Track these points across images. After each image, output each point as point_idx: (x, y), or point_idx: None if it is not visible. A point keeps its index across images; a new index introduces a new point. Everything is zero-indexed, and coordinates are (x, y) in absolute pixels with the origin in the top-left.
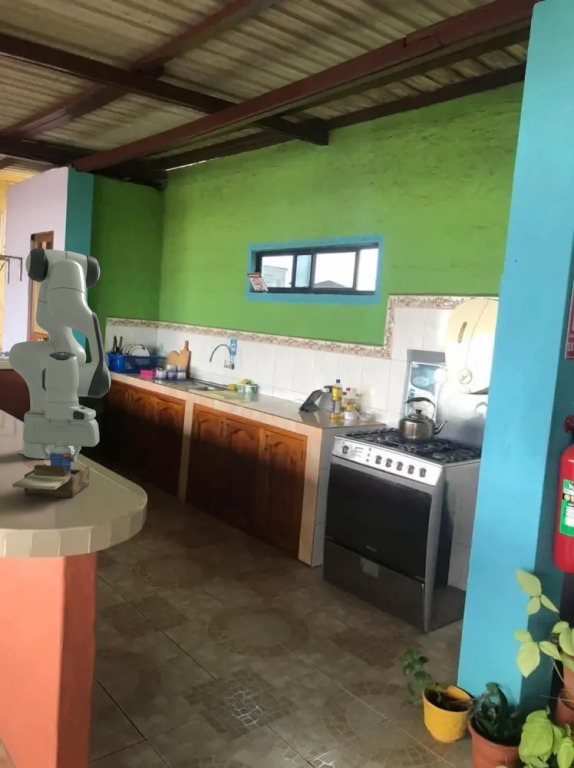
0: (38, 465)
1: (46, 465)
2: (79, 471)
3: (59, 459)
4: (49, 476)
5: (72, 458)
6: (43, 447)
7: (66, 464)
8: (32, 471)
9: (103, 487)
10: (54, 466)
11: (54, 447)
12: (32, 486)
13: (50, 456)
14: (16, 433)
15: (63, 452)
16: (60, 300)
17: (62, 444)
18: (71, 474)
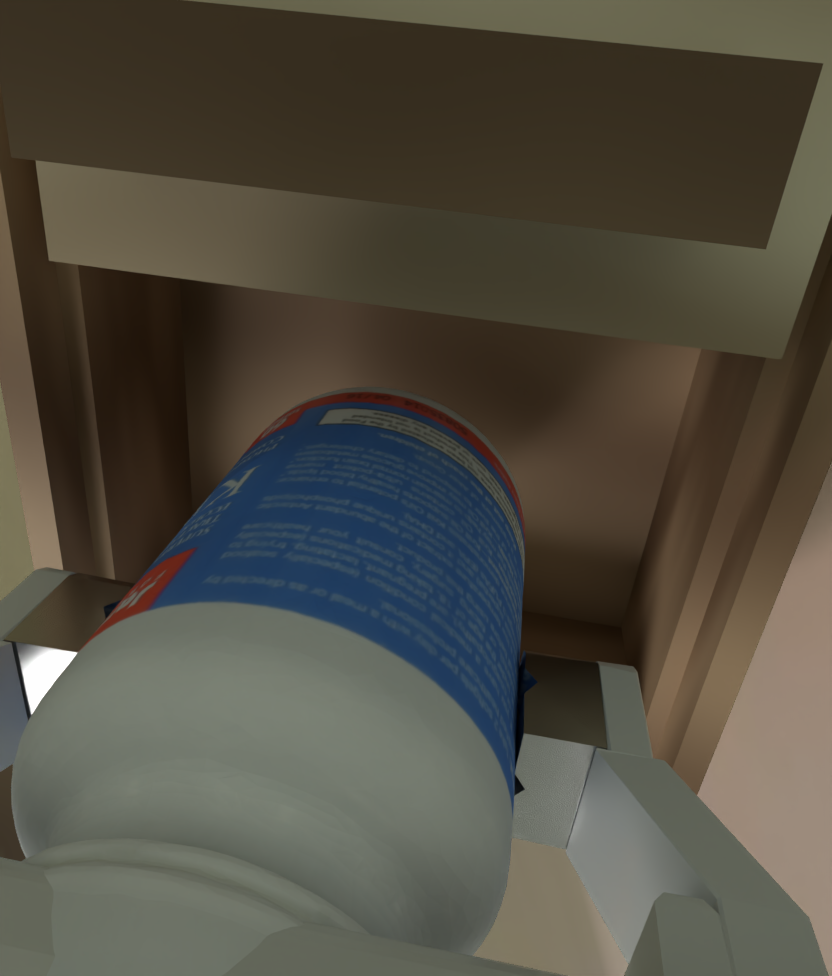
0: (709, 149)
1: (498, 186)
2: (42, 436)
3: (270, 520)
4: (404, 3)
5: (50, 603)
6: (735, 924)
7: (198, 510)
8: (822, 374)
9: (14, 499)
10: (265, 88)
11: (380, 863)
12: None
13: (522, 706)
14: None
15: (113, 637)
16: None
17: (36, 881)
18: (76, 238)
